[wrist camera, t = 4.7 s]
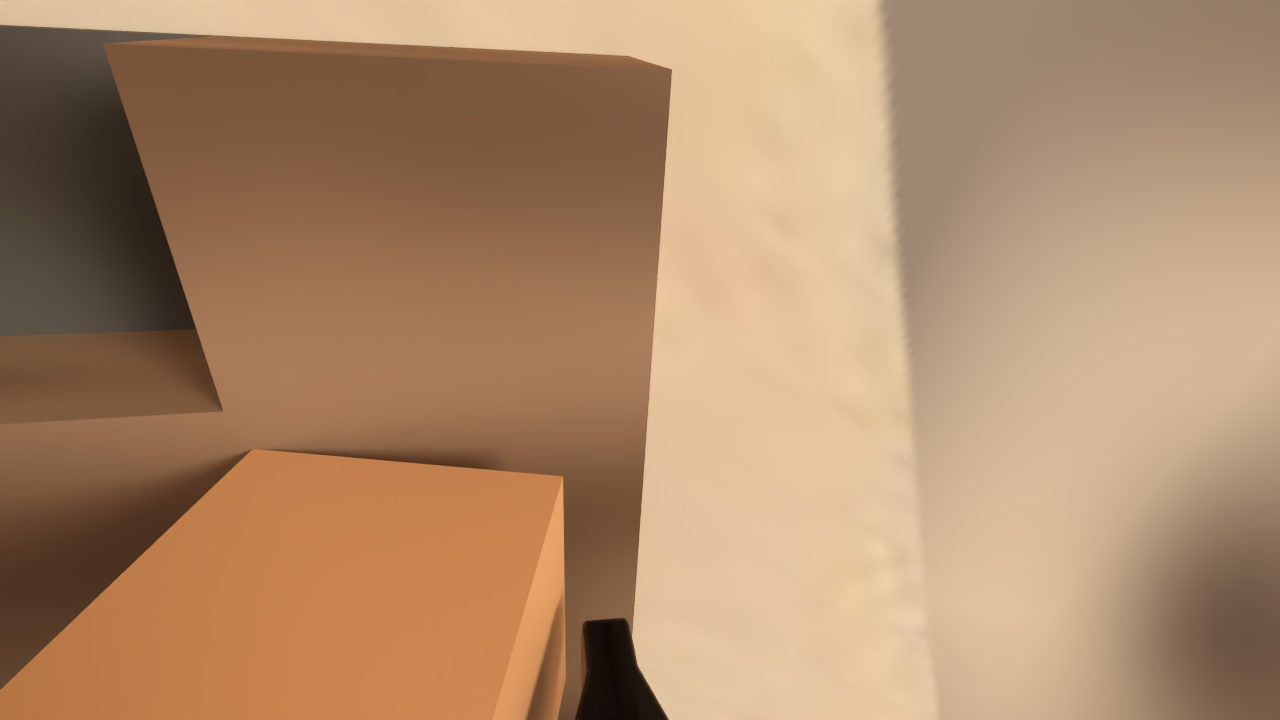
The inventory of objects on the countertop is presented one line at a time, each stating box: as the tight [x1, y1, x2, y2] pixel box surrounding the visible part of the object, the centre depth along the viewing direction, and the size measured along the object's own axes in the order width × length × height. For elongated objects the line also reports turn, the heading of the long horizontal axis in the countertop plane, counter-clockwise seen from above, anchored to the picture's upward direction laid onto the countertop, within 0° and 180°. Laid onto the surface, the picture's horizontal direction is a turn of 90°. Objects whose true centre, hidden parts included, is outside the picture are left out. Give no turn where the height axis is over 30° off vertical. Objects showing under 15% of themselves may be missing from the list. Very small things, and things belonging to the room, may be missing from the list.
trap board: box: [0, 25, 672, 720], centre depth 11 cm, size 15×17×3 cm
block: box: [0, 449, 566, 720], centre depth 8 cm, size 4×4×4 cm
